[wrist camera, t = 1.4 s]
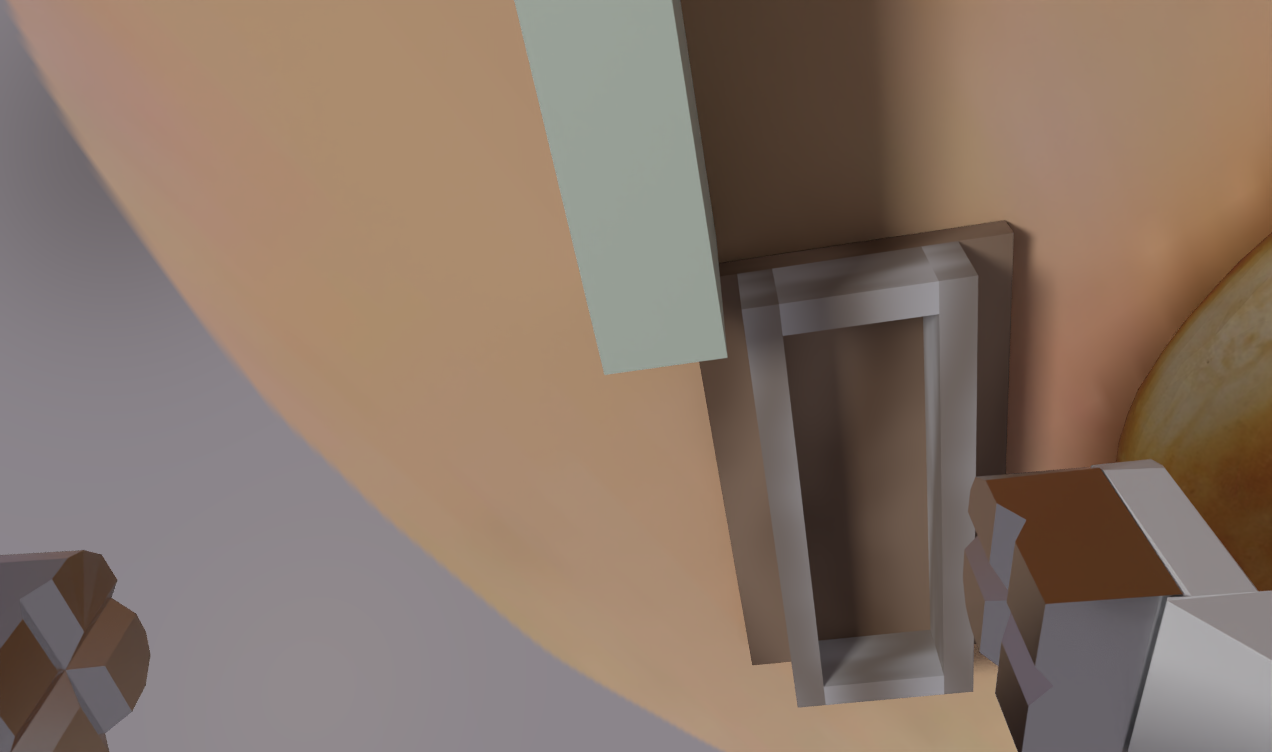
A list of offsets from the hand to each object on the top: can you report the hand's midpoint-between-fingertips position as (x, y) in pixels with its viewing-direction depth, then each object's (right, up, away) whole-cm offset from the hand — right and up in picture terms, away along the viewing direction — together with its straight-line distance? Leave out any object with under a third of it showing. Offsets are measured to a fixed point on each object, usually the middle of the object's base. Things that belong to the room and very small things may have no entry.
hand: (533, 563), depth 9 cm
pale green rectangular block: (+1, +12, +21) cm, 24 cm away
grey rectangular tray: (+10, -2, +29) cm, 31 cm away
